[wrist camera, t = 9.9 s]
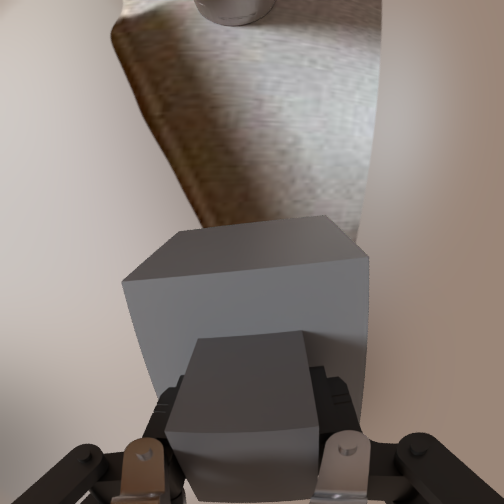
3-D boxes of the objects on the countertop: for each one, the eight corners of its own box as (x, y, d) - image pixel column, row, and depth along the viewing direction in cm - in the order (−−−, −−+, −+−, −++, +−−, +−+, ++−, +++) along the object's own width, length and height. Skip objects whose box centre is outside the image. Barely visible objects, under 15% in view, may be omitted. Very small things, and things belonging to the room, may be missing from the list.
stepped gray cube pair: (178, 231, 20) (50, 349, 7) (325, 215, 19) (431, 323, 6) (203, 354, 22) (154, 521, 9) (331, 343, 22) (379, 513, 9)
